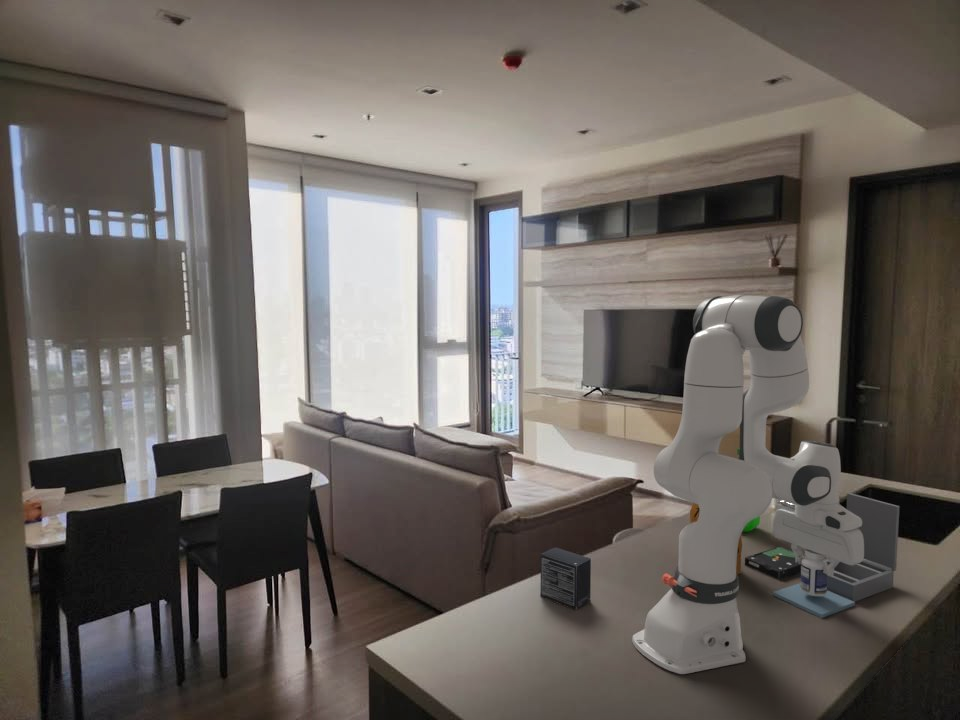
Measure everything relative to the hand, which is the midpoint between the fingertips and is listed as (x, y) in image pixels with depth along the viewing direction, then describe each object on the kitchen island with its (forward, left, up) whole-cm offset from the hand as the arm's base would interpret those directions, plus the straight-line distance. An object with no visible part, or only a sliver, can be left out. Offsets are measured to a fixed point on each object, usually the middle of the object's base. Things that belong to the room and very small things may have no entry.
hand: (814, 569), depth 140 cm
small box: (-50, +28, -8) cm, 58 cm away
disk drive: (+10, +16, -8) cm, 21 cm away
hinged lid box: (+15, +1, -8) cm, 17 cm away
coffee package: (-6, +23, -8) cm, 25 cm away
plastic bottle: (+24, +39, -8) cm, 46 cm away
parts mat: (0, 0, -8) cm, 8 cm away
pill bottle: (0, 0, -6) cm, 6 cm away
